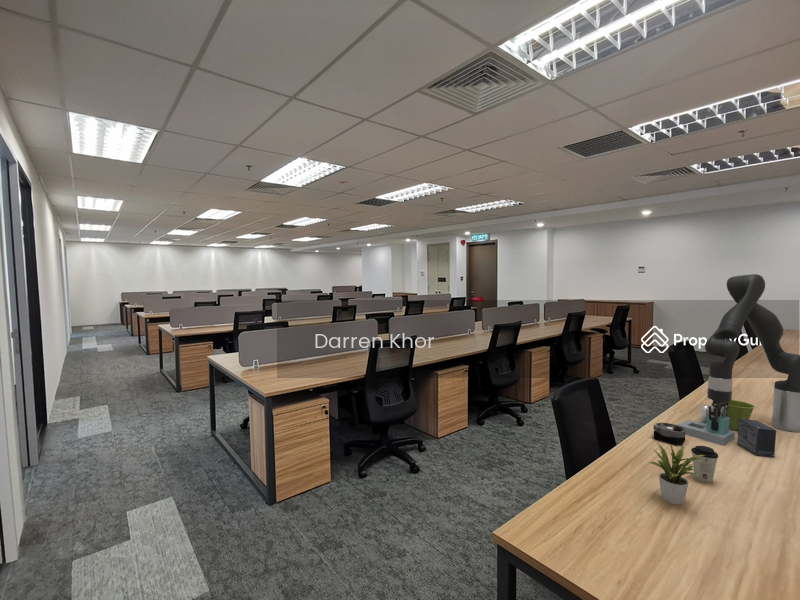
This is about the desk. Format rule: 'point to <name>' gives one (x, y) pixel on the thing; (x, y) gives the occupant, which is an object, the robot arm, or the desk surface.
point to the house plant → (674, 475)
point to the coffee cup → (704, 463)
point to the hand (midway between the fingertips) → (717, 428)
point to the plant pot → (738, 412)
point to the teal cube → (722, 427)
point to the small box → (756, 437)
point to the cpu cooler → (669, 433)
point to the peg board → (706, 432)
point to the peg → (704, 414)
